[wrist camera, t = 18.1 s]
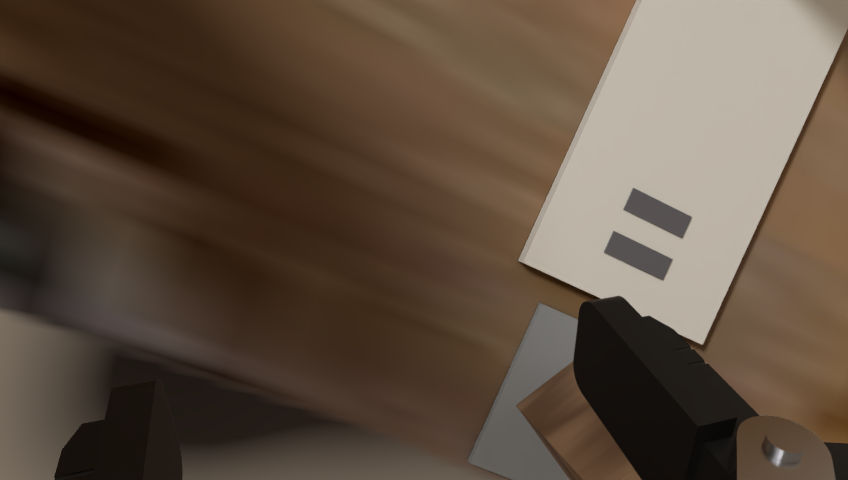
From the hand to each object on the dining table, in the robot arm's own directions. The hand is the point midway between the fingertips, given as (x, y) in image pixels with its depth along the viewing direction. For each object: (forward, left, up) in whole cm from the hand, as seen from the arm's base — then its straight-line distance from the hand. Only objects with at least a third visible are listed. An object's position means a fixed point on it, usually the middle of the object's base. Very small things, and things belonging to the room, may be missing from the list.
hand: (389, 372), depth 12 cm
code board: (+14, +15, -20) cm, 29 cm away
